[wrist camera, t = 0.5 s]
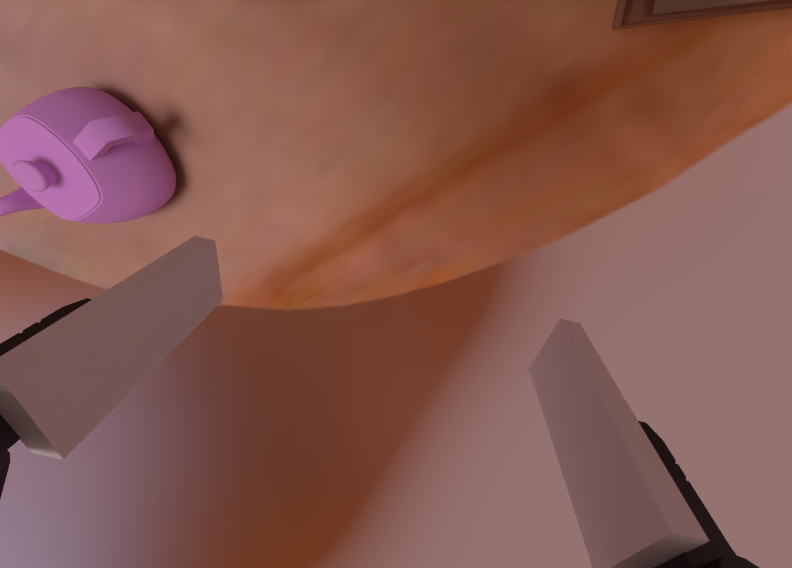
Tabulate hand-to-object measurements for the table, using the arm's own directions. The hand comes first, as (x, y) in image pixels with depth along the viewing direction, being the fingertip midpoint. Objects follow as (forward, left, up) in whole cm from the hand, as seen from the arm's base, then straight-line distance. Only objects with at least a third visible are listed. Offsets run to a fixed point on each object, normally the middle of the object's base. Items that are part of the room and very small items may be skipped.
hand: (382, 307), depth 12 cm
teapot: (-3, -36, -27) cm, 45 cm away
